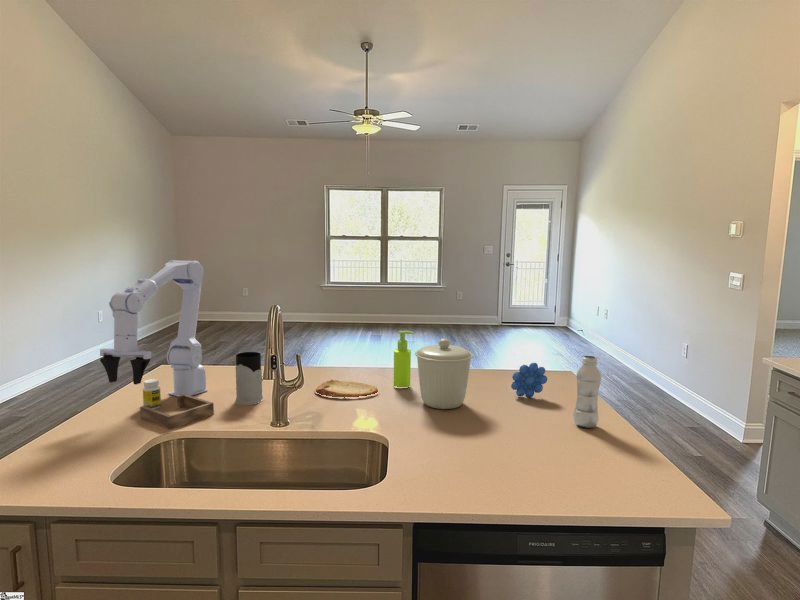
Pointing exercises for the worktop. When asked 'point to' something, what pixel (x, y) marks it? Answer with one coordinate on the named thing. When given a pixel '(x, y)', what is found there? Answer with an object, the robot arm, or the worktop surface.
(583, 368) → the plastic bottle
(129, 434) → the worktop surface
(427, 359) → the canister
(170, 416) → the walled box
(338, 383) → the slice of bread
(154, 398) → the supplement bottle
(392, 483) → the worktop surface
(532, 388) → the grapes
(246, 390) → the grey and black cylinder
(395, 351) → the soap dispenser
